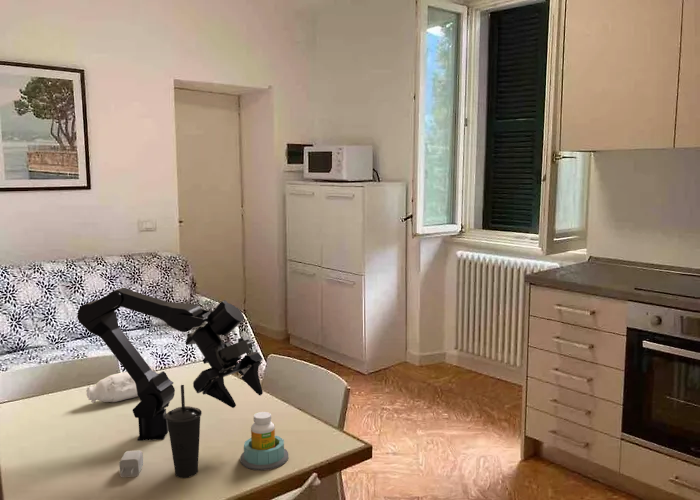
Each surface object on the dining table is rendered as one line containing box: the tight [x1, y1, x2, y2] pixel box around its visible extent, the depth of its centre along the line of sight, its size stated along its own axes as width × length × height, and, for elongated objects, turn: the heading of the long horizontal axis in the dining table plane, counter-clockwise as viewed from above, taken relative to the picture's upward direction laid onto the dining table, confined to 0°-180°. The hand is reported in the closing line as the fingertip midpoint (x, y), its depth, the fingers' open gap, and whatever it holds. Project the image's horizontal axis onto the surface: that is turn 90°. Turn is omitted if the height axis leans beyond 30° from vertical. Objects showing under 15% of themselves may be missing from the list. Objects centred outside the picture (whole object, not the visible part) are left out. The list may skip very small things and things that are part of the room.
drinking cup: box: [165, 384, 203, 479], centre depth 133 cm, size 8×8×20 cm
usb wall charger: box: [118, 449, 144, 478], centre depth 133 cm, size 4×7×4 cm, turn 7°
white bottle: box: [85, 366, 156, 404], centre depth 179 cm, size 8×19×8 cm, turn 129°
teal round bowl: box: [239, 435, 289, 471], centre depth 140 cm, size 11×11×4 cm
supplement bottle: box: [250, 411, 276, 450], centre depth 139 cm, size 5×5×10 cm
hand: (248, 400), depth 142 cm, fingers open, 9 cm apart
